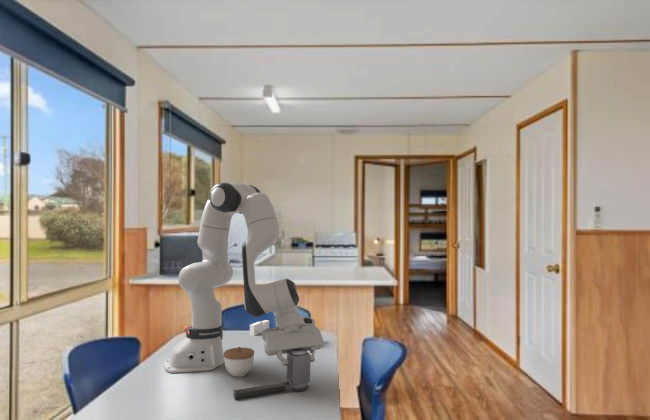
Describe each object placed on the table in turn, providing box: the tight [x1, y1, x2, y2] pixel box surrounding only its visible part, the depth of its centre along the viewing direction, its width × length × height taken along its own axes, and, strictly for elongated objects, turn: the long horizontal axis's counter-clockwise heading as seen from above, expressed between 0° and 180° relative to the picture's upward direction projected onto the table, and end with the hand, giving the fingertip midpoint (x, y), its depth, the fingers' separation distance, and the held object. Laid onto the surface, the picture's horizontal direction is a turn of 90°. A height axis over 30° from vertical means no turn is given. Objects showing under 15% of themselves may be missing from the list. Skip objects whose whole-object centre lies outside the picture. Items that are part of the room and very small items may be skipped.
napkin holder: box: [249, 319, 270, 337], centre depth 216 cm, size 15×11×6 cm
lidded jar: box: [223, 346, 255, 377], centre depth 162 cm, size 11×11×9 cm
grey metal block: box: [286, 349, 311, 385], centre depth 148 cm, size 6×6×10 cm
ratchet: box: [232, 380, 309, 401], centre depth 145 cm, size 24×6×5 cm, turn 113°
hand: (299, 363), depth 148 cm, fingers open, 8 cm apart
